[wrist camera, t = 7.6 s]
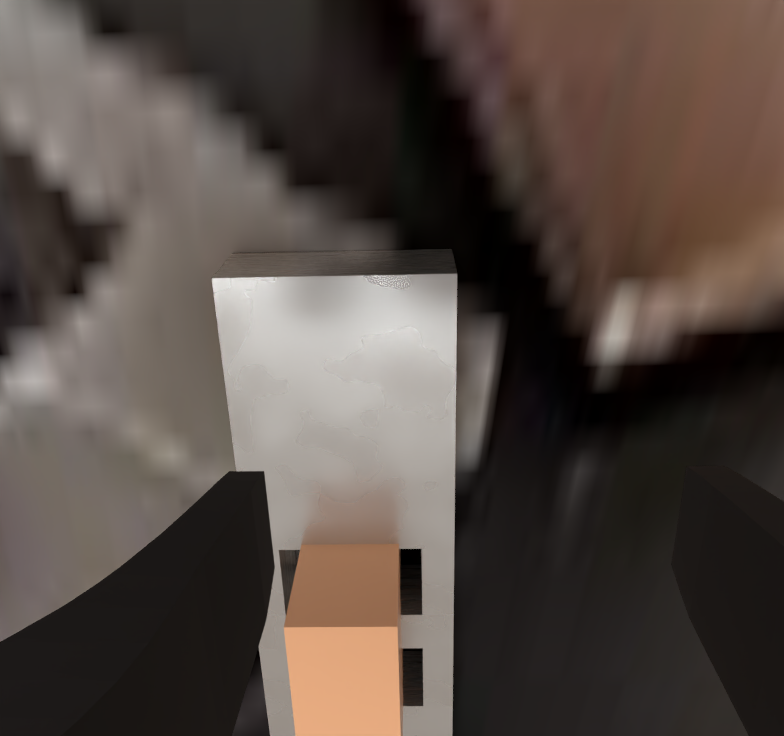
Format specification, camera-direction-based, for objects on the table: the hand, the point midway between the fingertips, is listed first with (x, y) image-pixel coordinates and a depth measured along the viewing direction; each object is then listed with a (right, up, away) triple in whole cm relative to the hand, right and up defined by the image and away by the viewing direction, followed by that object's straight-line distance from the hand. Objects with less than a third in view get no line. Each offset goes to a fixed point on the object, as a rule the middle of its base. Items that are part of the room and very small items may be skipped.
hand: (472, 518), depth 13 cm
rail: (-3, -5, +14) cm, 15 cm away
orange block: (-3, -5, +14) cm, 15 cm away
